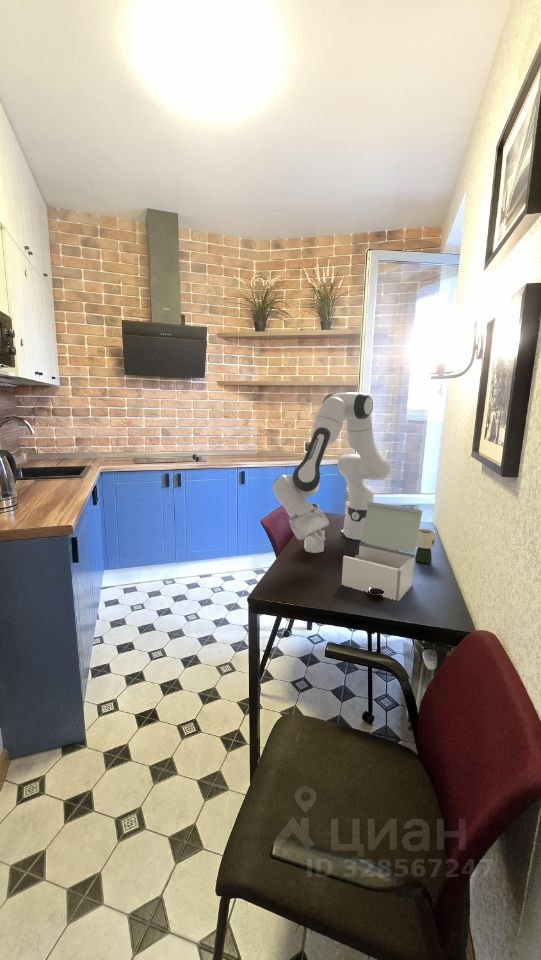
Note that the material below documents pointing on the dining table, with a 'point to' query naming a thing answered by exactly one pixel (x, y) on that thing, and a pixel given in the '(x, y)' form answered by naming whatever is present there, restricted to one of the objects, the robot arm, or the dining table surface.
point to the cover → (391, 526)
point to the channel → (379, 571)
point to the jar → (313, 544)
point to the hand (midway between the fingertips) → (322, 542)
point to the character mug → (425, 545)
